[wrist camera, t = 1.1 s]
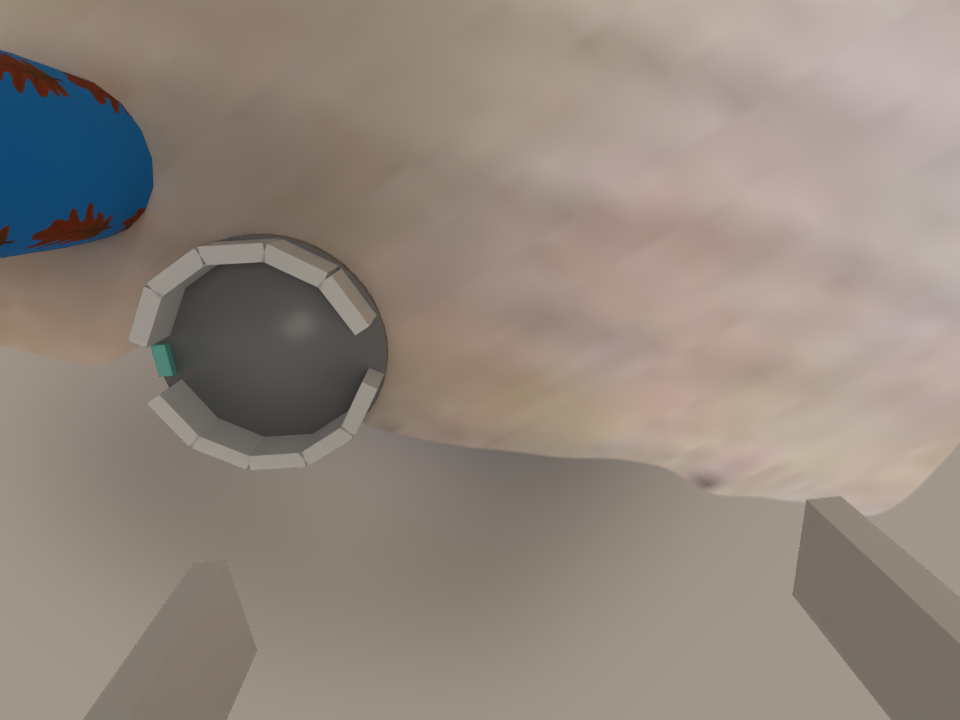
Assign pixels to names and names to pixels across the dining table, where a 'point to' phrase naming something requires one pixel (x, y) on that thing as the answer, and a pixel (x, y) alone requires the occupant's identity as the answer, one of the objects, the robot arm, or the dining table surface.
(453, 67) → the dining table surface
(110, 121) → the thermos
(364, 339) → the bayonet base
